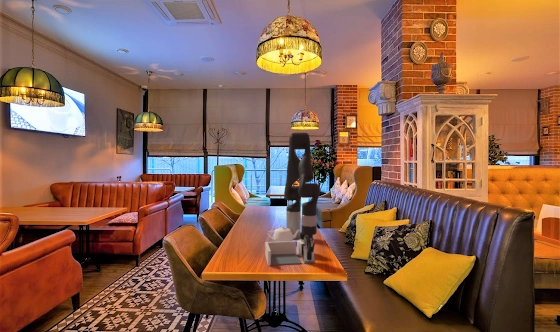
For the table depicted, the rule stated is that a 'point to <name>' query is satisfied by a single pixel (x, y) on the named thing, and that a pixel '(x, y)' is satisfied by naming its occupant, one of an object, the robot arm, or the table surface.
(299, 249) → the medicine bottle
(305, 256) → the bracket
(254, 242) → the table surface
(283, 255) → the slate mat
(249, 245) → the table surface
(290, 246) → the corner walls
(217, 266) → the table surface
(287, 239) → the teapot
